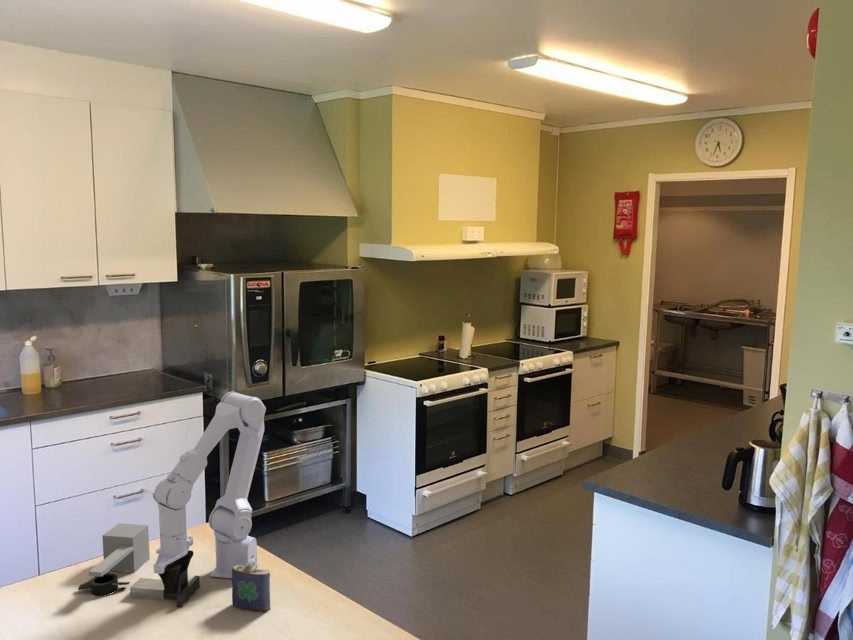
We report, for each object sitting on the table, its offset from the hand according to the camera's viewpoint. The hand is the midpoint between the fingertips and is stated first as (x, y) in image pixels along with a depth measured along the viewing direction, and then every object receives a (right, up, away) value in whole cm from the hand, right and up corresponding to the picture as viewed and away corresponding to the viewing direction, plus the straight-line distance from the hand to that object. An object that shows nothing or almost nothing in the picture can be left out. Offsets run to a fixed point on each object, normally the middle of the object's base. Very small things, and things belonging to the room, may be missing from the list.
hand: (175, 587), depth 158 cm
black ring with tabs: (-18, -2, +3) cm, 18 cm away
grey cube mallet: (-18, -1, +8) cm, 20 cm away
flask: (+18, -3, -4) cm, 19 cm away
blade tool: (-3, -2, +1) cm, 4 cm away
